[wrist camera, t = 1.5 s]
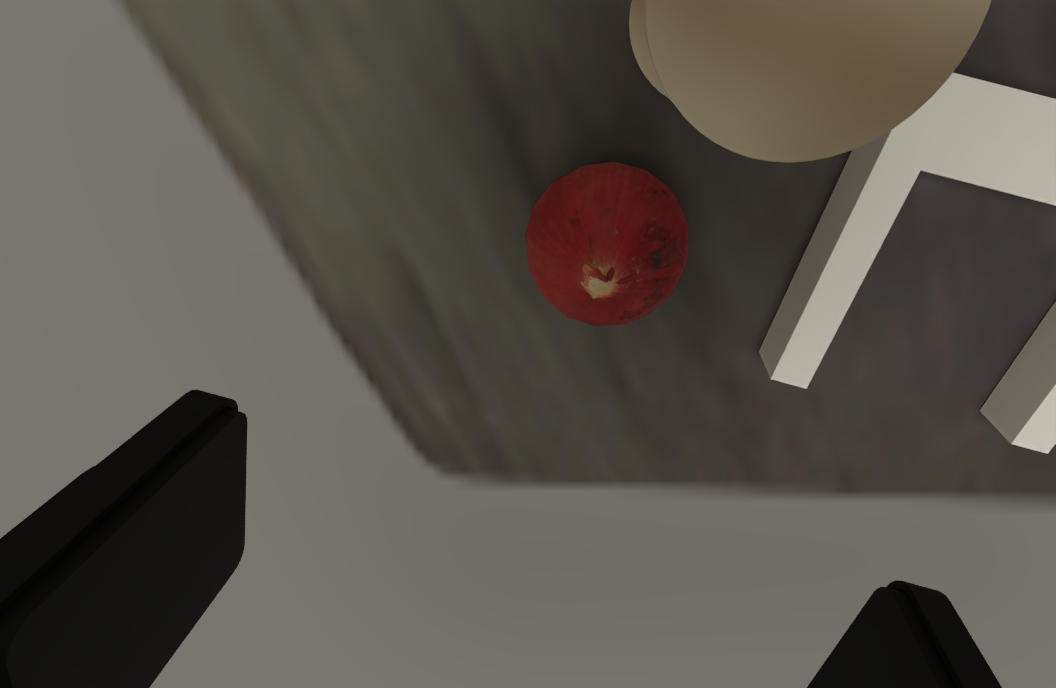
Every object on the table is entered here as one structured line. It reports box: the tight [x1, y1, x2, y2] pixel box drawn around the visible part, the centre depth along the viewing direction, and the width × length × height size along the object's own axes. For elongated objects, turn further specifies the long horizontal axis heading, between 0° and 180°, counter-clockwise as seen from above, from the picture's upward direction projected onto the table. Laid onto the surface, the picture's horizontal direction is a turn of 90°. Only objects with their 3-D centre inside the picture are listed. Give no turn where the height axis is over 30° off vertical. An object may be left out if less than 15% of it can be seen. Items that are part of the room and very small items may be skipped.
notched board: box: [759, 73, 1056, 454], centre depth 23 cm, size 12×12×2 cm
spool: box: [629, 0, 991, 163], centre depth 16 cm, size 6×6×13 cm
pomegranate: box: [526, 161, 688, 326], centre depth 22 cm, size 6×6×8 cm
